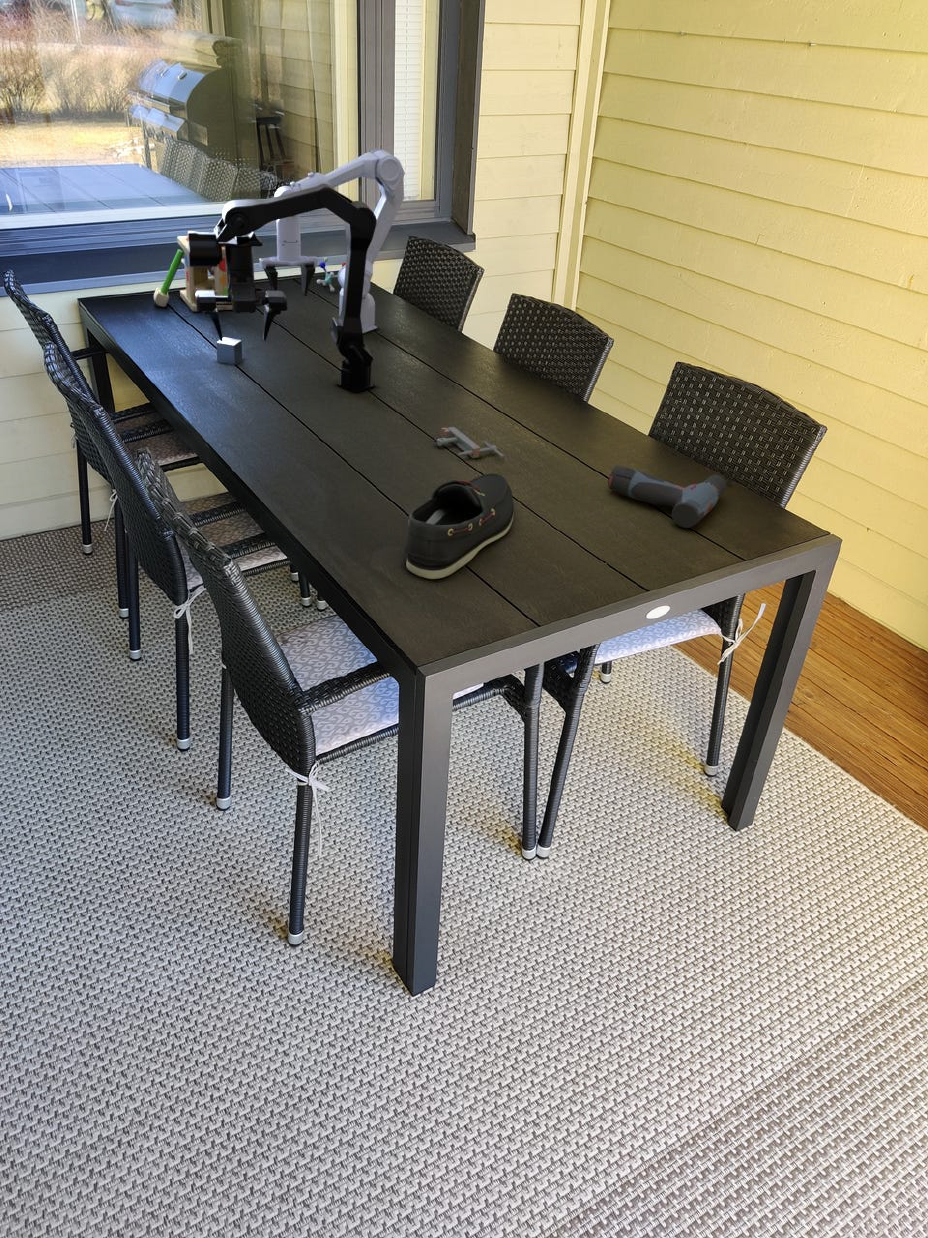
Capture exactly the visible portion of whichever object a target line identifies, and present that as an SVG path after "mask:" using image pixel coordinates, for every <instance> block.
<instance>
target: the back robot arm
mask: <svg viewBox="0 0 928 1238" xmlns="http://www.w3.org/2000/svg"><path fill="white" fill-rule="evenodd" d="M405 174H406V172H405V170H404V168H403V164H402V163H401V161H400V159H398V157H397V156H395V155H392V154H390V153H389V152H388V151H387V150H386V149H384V148H376V149H373V150H372V151H371V152H370V151H369V152H364V153H363V154H362V155H360V156H358V157H356V158H354V159H352V160H351V161H349V162H347V163H345V164H343V165H341V166H339V167H337V168H335V169H334V170H332V171H329V172H328V173H326V174H322V173H321V172H316V173H314V172H313V171H311V172H308V173H307V176H306V177H304V178H301V179H300V180H297V181H296V182H295V181H291V182H290V183H289V185H282V186H280V187H278V188H277V189H276V191H275V192H274V196H273V197H277V196H281V195H285V194H289V193H293V192H297V191H300V190H304V189H308V188H312V187H316V186H318V185H320V184H328V185H329V186H331V188H332V189H334V188H336V187H339V186H342V185H344V184H346V183H348V182H351V181H353V180H356V179H358V178H366V179H370V180H376V182H377V185H378V188H379V191H380V194H381V196H380V198H379V201H378V203H377V205H376V207H375V209H374V210H373V213H374V214H375V216H376V221H377V224H376V228H375V232H374V236H373V239H372V242H371V244H370V246H369V248H368V251H367V256H366V266H365V276H364V286H363V296H362V306H361V324H362V330H363V334H366V333H367V332H370V331H374V330H377V329H378V326H377V325H375V321H376V301H375V299H374V297H373V295H372V294H371V293H369V292H370V290H371V280H372V278H373V275H374V263H375V261H376V259H377V257H378V255H379V253H380V251H381V249H382V247H383V245H384V243H385V240H386V238H387V236H388V234H389V233H390V230H391V228H392V225H393V223H394V221H395V219H396V217H397V215H398V213H399V210H400V209H401V206H402V204H403V202H404V199H405V184H404V183H405V182H404V178H405ZM300 216H301V214H298V215H294V216H290V217H286V218H282V219H278V220H275V222H276V253H277V255H276V256H275V255H274V256H270V257H262V258H259V267H260V268H261V269H263V271H264V273H265V276H266V277H267V280H268V283H269V285H270V289H271V291H279V290H278V279H279V272H278V271H277V268H286V267H300V276H301V286H300V287H301V295H303V297H307V296H308V292H309V287H310V284H311V282H312V279H313V277H314V275H315V274H316V268H315V267H314V266H318V265H319V258H318V257H317V256H315V255H313V256H312V255H302V253H301V251H302V250H301V248H302V247H301V246H302V245H301V244H302V243H301V242H302V241H301V217H300ZM345 270H346V265H345V266H343V267H342V266H341V268H340V269H339V270H338V273H337V275H338V277H337V282H338V284H339V286H341V290H340V291H339V310H338V311H339V313H338V314H339V316H340V314H341V311H342V303H343V292H344V281H345ZM339 316H338V317H339ZM332 329H333V326H332Z"/></svg>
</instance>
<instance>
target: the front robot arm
mask: <svg viewBox="0 0 928 1238" xmlns="http://www.w3.org/2000/svg"><path fill="white" fill-rule="evenodd" d="M321 209H327V210H329V211H330V212H331V213H333V214H334V215H335V216H337V217H338V218H340V220H342V221H343V222H344V232H345V238H346V239H345V240H346V245H347V248H346V260H345V263H346V270H345V281H344V292H343V303H342V311H341V314H340V316H338V318H337V317H332V327H333V329H332V330H331V332H330V336H331V338H332V340H333V343H334V344H335V346H336V348H337V350H338V352H339V354H340V355H341V356H342V357H344V358H343V360H342V361H341V368H340V381H338V382H337V383H336V385H337V386H339V387H341V388H343V389H346V390H348V391H350V392H352V393H355V394H357V393H358V394H359V393H361V392H363V391H367V390H371V389H373V388H376V384H375V383H373V382H371V381H372V380H371V379H372V377H371V376H372V364H373V361H374V357H373V355H372V353H371V351H370V349H369V348H368V347H367V345H366V344H365V341H364V333H363V330H362V324H361V306H362V296H363V286H364V276H365V266H366V256H367V251H368V248H369V246H370V244H371V242H372V239H373V236H374V232H375V228H376V224H377V221H376V216H375V214H374V211H373V210H372V209H371V208H370V207H369V206H368V205H367V204H366V203H365V202H364V201H361V200H352V199H350V198H349V197H347V196H345V195H344V194H342V193H341V192H339V191H337V190H336V189H334V188H331V186H329V185H328V184H320V185H318V186H316V187H312V188H308V189H304V190H300V191H297V192H293V193H289V194H285V195H281V196H277V197H274V196H273V197H269V198H265V199H249V198H248V199H232V200H230V201H228V202H226V203H225V204H224V207H223V208H222V211H221V212H222V213H221V216H222V217H221V219H219V221H218V223H217V224H216V225H215V227H214V228H213V232H214V233H213V232H208V231H207V232H204V231H201V232H200V231H196V230H188V231H187V236H188V258H189V266H190V267H217V266H218V264H220V262H222V261H223V257H222V246H225V260H226V279H227V296H215V293H214V291H197V292H196V293H195V300H196V307H197V311H196V312H203V315H205V316H209V318H210V319H211V322H212V324H213V325H214V328H215V330H216V332H217V335H218V337H219V340H220V341H223V340H222V338H223V332H222V326H221V321H220V316H219V315H220V314H219V310H217V305H232V309H231V310H232V312H233V313H235V314H241V313H249V314H256V312H257V307H262V306H263V321H262V339H263V341H264V342H266V341H267V338H268V335H269V331H270V330H271V329H270V328H271V325H272V323H273V321H274V319H275V317H276V316H278V315H279V316H280V315H281V314H282V312H286V311H288V299H287V297H286V294H285V293H284V291H282V290H278V291H272V290H265V287H256V286H255V262H254V247H263V242H262V239H261V238H260V237H258V236H257V235H256V233H255V231H258V230H260V229H261V228H262V227H264V226H265V225H267V224H270V223H271V222H274V221H275V222H276V220H278V219H282V218H286V217H290V216H294V215H298V214H300V215H301V214H305V213H310V212H314V211H317V210H321Z"/></svg>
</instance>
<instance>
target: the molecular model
mask: <svg viewBox="0 0 928 1238" xmlns="http://www.w3.org/2000/svg"><path fill="white" fill-rule="evenodd" d="M328 261H329V257H327V256H324V258H323V262H320V263H319V264H318V266H314V267H315V269H316V268H319V267H320V269H323V272H324V274H325V276H324V277H325V279H320V278H319V279H317V280H316V283H317V284H319V285H320V284H322V285H323V286H327V285H328V286H329V288H330V289H329V290H330V292H332V293H333V292H335V290H336V289H335V287H333V285H332V279H335V278H336V279H338V274H335V272H333V271H330V273H328V271H327V268H326V266H327V265H326V263H327V262H328ZM345 265H346V262H342V263H341V268H342V267H343V266H345Z"/></svg>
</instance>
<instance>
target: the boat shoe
mask: <svg viewBox="0 0 928 1238" xmlns="http://www.w3.org/2000/svg"><path fill="white" fill-rule="evenodd" d="M514 513H515V503H514V497H513V491H512V488H511V486H510V484H509V482H508V480H507V479H506V478H505V477H504V476H503V475H501V474H500V473H495V472H494V473H490V472H489V473H485V474H481V475H479V476H477V477H474V478H472V479H470V480H468V481H467V480H463V479H451V480H448V481H446V482H444V483H442V484H440V485H439V486H437V487H436V488H435V489H434V491H433V492H432V494H431V495H430V497H429V499H427V500H425V501H423V502H422V503H421V504H419V505H417V506H416V507H414V508H413V509H412V510H411V511H410V512H409V515H407V518H406V523H407V524H408V533H407V537H406V544H405V546H404V548H403V549H404V553H406V554H407V555H406V561H405V562H406V564H405V565H406V569H407V570H408V571H409V572H410V573H412V574H414V575H416V576H417V577H421V578H424V579H430V580H436V579H442V578H445V577H448V576H450V575H452V574H453V573H455V572H456V571H458V570H459V569H460V568H462V567H464V566H465V565H467V563H469V562H470V561H472V559H474V557H475V556H476V555H477V554H478V553H479V551H480V550H482V549H483V548H485V546H487V545H489V544H491V543H492V542H493V543H494V541H497V540H499V539H500V538H502V537H504V536H505V535H506V534H507V533H508V532H509V530H510V529H511V527H512V525H513V521H514V515H515V514H514Z"/></svg>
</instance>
